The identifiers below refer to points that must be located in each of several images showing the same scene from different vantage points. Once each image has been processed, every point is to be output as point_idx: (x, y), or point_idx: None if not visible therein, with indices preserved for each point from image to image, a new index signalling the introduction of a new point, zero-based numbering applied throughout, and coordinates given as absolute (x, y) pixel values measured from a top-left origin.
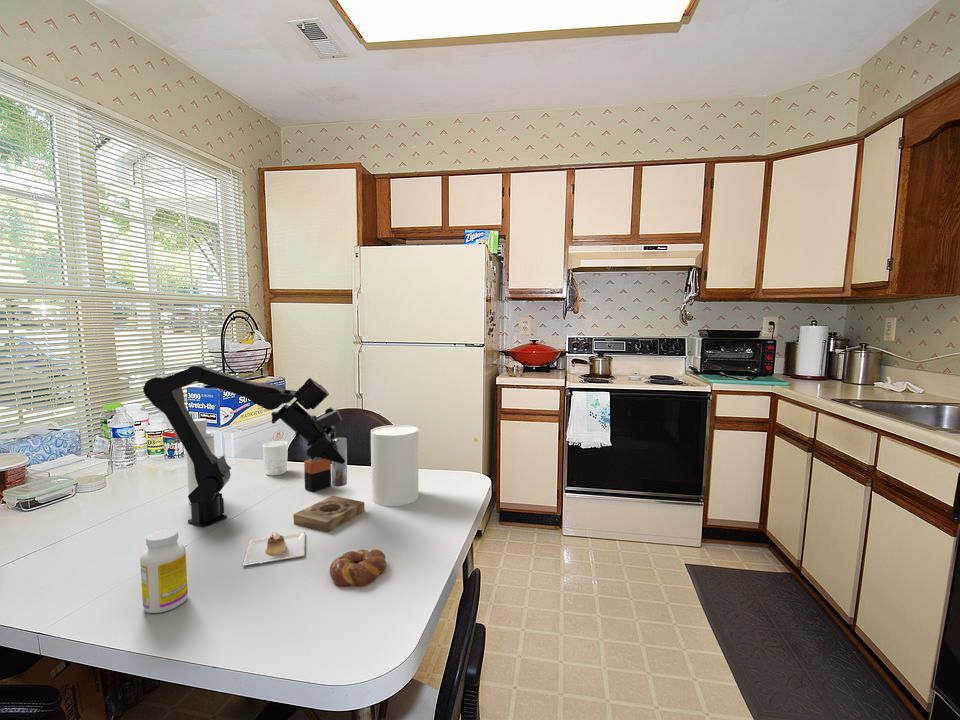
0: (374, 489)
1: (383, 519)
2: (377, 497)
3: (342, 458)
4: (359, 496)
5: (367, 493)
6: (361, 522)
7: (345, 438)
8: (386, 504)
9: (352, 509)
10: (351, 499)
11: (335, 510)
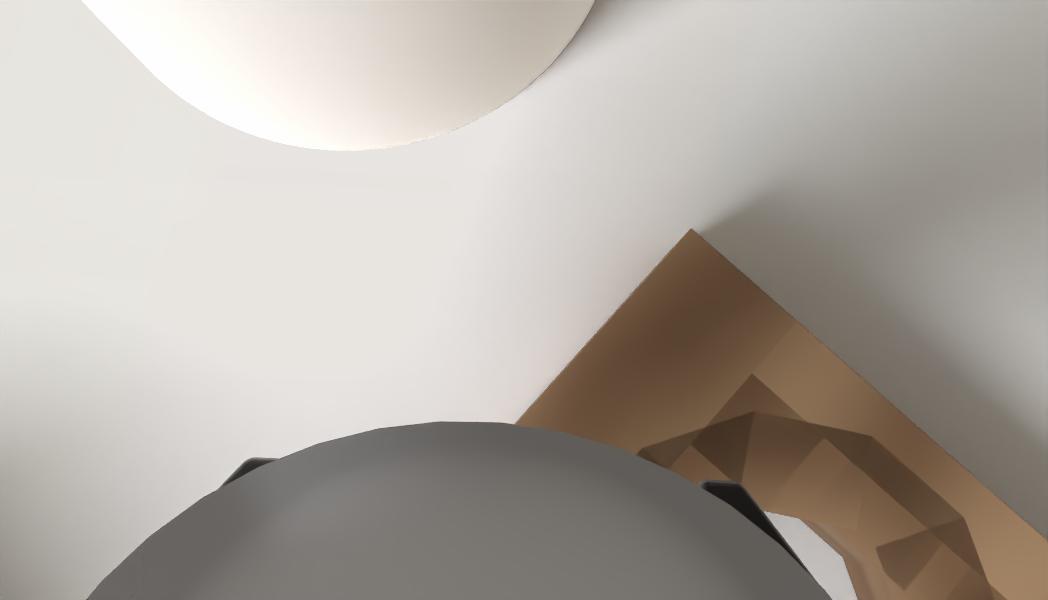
0: (454, 67)
1: (940, 74)
2: (512, 68)
3: (801, 564)
4: (191, 283)
5: (119, 184)
6: (962, 295)
7: (337, 501)
8: (592, 1)
9: (855, 377)
10: (556, 381)
11: None
